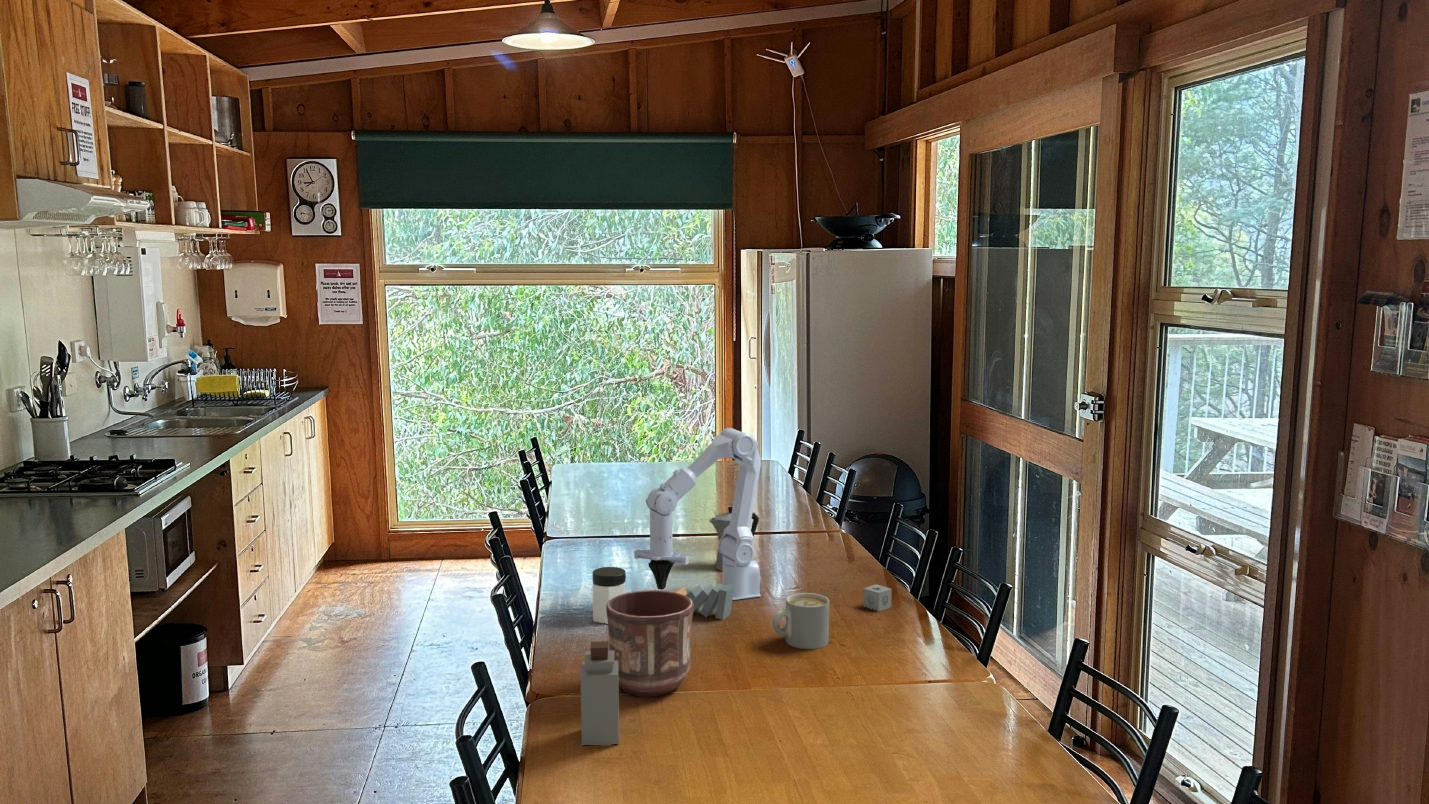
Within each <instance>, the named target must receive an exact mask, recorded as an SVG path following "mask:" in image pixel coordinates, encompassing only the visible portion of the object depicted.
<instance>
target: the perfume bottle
mask: <svg viewBox="0 0 1429 804" xmlns="http://www.w3.org/2000/svg"><path fill="white" fill-rule="evenodd" d="M584 651H585V652H584V653H585V654H584V661H581V668H580V669H581V670H580V706H581V707H580V710H581V711H580V714H581V715H580V716H581V718H580V719H581V721H580V723H581V727H580V728H581V746H582V745H602V746H610V745H609V744H619V745H620V699H619V697H620V696H619V695H620V694H619V693H620V692H619V691H620V690H619V689H620V686H619V676H618V660H616V661H614V653H615V650H613V651H609V640H607V641H606V640H603V641H601V640H600V641H599V640H598V641H590V650H584Z"/></svg>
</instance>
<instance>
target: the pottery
mask: <svg viewBox="0 0 1429 804" xmlns="http://www.w3.org/2000/svg"><path fill="white" fill-rule="evenodd" d="M693 608H694V604H693V600H691V599H690V598H688V597H686V596H685V595H682V594H678V593H675V592H673V591H668V590H660V589H657V590H656V589H655V590H650V589H647V590H637V591H636V590H635V591H631V592H630V591H629V592H625V594H622V595H619V596H616V597H614V598H612V599H610V600H609V601H608V603H607V604H606V612H607V620H608V624H607V629H608V641H609V642H608V651H613V650H615V653H614V661H616V660H618V676H619V688H621V689H622V690H623V691H624V692H625V693H627V694H630V695H632V696H636V695H638V696H637V697H645V696H653V697H659V696H658V695H660V696H664V695H667V694H670V693H671V692H673V691H675V690H677V688H678V687H679V686H681V685H682V683H683V682H684V681H685V679H686V677H687V675H688V674H689V671H690V669H691V662H692V661H691V659H692V657H691V656H692V655H691V638H692V622H693V616H694V613H693Z"/></svg>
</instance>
